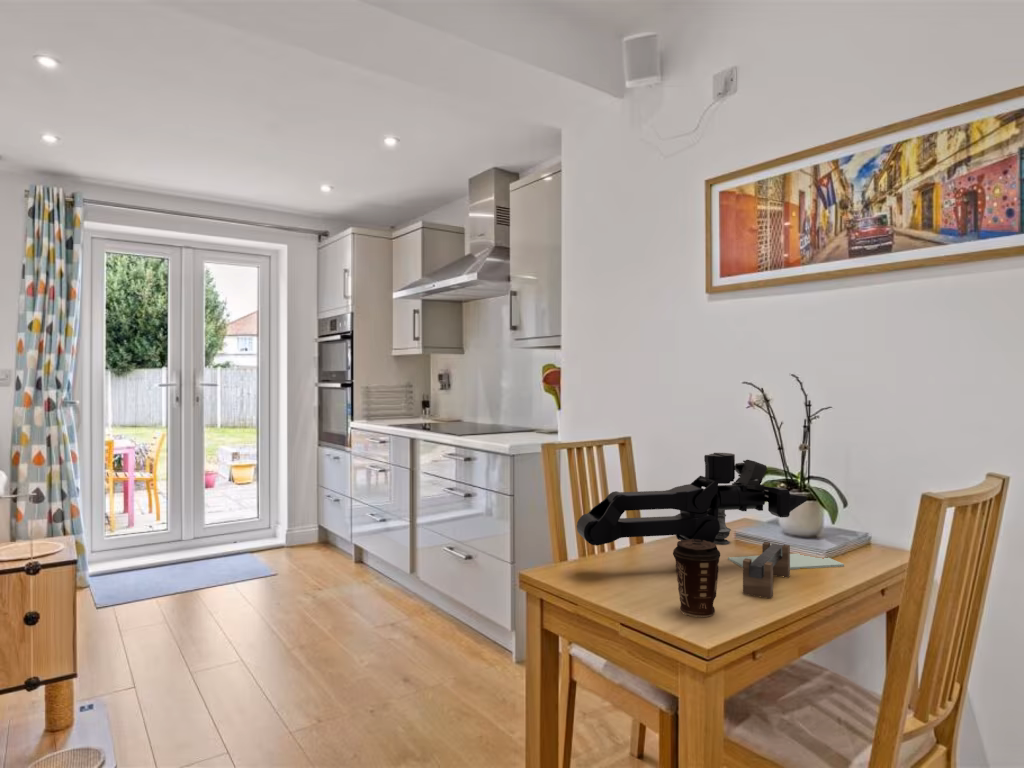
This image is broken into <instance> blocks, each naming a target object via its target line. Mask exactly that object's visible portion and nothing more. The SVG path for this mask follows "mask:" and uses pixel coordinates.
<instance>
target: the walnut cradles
mask: <svg viewBox="0 0 1024 768" xmlns="http://www.w3.org/2000/svg"><path fill="white" fill-rule="evenodd" d="M770 545H771V542H768V541H764V542H763V543H762V552H761V554H762V553H763V552H764V551H765V550H766V549H767V548H768V547H769V546H770ZM782 545H783V546H782V558H781V559H780V560H779V561H778V562H777V563H776V564H775V565H774V566H773V563H772V562H766V563H765V564H764V577H763V578H762V579H759V578H753V577H749V565H750V564H751V563H752V559H747V558H745V559H744V560H743V568H742V594H743V593H744V594H743V595H748V594H749V595H750V596H753V595H755V597H759V596H761V597H760V598H764V597H767V598H766V599H769V598H771V597H772V598H773V597H774V575H777V576H776V577H779V576H784V577H783V578H785V577H788V578H789V577H790V576H791V575H790V574H791V569H790V554H791V546H790V545H791V544H782ZM789 575H790V576H789ZM772 598H771V599H772Z"/></svg>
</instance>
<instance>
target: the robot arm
mask: <svg viewBox="0 0 1024 768" xmlns="http://www.w3.org/2000/svg"><path fill="white" fill-rule="evenodd" d="M735 461H736V454H735V453H729V452H713V453H708V454H704V469H705V470H704V474H705V475H704V476H703V475H699V476H698V477H697V478H695V479H694V480H693V481H692V482H691V483H689V484H683V485H680V486H679V485H678V486H676V487H672V488H671V489H666V490H646V491H612V492H610V493H609V494H608V495H607V496H606V497H605V499H603V500H602V501H600V502H599V503H597V505H595V506H594V507H593V508H591V509H590V510H589V511H588V512H587V513H584V514H582V515H581V516H580V517H579V519H578V521H577V523H576V530H577V533H578V534H579V536H581V537H582V538H583V539H584V540H585V541H586V542H587V543H588V544H589V545H592V546H596V547H597V546H602V545H605V544H610V543H614V542H615V541H617V540H619V539H623V538H639V537H640V538H641V537H642V538H644V537H659V536H660V537H662V536H663V537H665V536H676V539H677V540H678V541H682V540H689V539H694V540H696V539H698V540H701V541H703V540H706V541H708V542H711V543H714V540H715V537H716V536H717V534H718V532H719V530H720V524H719V521H718V510H725V511H735V510H737V511H741V512H747V511H748V510H756V511H759V512H761V511H764V505H765V503H767V504H768V506H767V507H768V508H767V509H768V512H769V513H770V514H771V515H773V516H776V517H778V518H789V517H790V514H791V512H793V510H795V509H796V508H798V507H800V506H801V505H802V504H804V503H806V502H807V500H808V498H807V496H806V495H802V494H801V495H800V494H794V493H790V491H789V489H787V488H785V487H781V486H780V487H779V486H766V485H765V484H761V483H762V482H763V479H764V477H765V473H766V472H767V470H768V467H767V465H765V464H763V463H760V462H757V461H755V460H750V459H745V460H744V459H743V460H742V462H737V463H736V462H735ZM735 472H736V473H737V474H738V478H737V479H736V476H735V475H736V473H735ZM735 479H736V480H735ZM734 480H735V481H734ZM702 487H703V488H702ZM647 510H648V511H649V510H650V511H651V510H676V511H679V512H680V513H678V514H676V515H673V516H672V515H668V516H667V515H666V516H650V517H649V516H648V517H647V516H645V517H644V516H643V517H623V518H622V517H621V516H622V515H623V514H624V513H625V512H626V511H647ZM675 567H676V568H677V566H676V565H675Z"/></svg>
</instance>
